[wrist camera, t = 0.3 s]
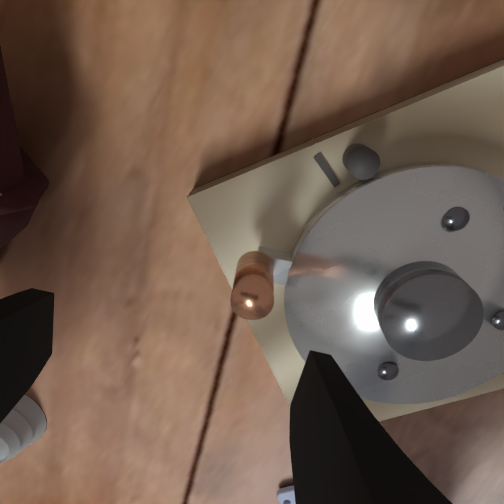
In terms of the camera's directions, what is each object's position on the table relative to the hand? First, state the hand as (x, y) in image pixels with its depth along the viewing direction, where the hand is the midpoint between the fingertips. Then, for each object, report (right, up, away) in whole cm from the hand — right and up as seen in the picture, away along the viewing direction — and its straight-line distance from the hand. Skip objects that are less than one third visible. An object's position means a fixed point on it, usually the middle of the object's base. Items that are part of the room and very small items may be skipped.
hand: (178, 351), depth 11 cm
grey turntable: (+8, +1, +7) cm, 11 cm away
